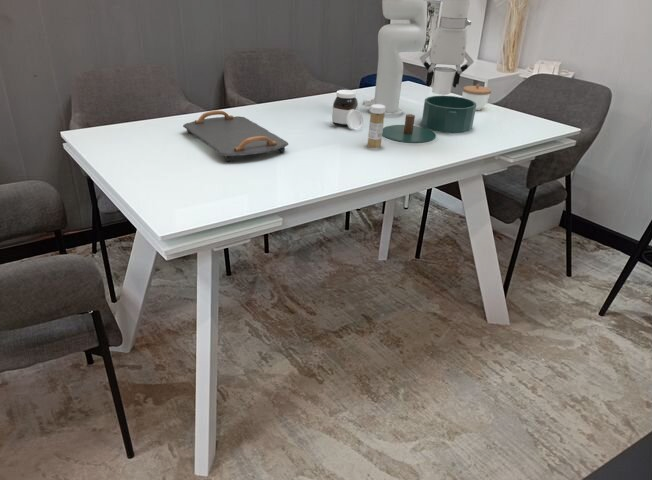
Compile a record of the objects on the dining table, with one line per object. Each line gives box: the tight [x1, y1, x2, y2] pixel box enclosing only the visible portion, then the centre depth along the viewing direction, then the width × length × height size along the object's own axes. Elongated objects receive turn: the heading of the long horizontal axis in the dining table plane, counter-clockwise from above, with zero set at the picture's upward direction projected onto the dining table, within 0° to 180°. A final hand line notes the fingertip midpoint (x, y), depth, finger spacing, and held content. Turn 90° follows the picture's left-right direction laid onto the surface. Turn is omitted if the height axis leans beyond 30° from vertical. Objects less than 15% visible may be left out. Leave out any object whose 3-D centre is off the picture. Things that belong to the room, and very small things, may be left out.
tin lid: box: [382, 113, 436, 144], centre depth 186 cm, size 19×19×7 cm
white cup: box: [431, 66, 457, 96], centre depth 170 cm, size 7×7×7 cm
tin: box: [420, 95, 477, 134], centre depth 196 cm, size 18×23×9 cm
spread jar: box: [331, 89, 364, 131], centre depth 193 cm, size 12×11×12 cm
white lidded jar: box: [461, 83, 492, 111], centre depth 219 cm, size 11×11×9 cm
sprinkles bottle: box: [366, 104, 385, 149], centre depth 173 cm, size 5×5×13 cm
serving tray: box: [182, 110, 289, 163], centre depth 176 cm, size 39×23×6 cm, turn 31°
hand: (442, 85), depth 171 cm, fingers closed on white cup, 6 cm apart
